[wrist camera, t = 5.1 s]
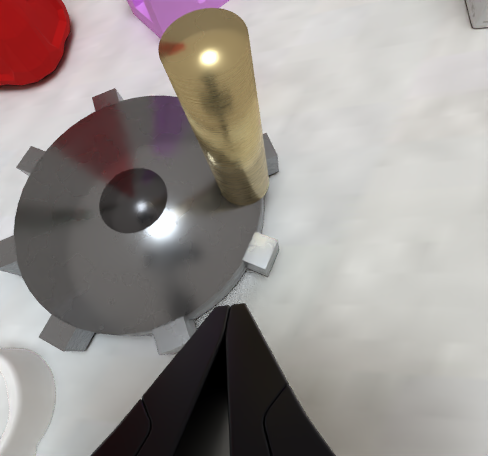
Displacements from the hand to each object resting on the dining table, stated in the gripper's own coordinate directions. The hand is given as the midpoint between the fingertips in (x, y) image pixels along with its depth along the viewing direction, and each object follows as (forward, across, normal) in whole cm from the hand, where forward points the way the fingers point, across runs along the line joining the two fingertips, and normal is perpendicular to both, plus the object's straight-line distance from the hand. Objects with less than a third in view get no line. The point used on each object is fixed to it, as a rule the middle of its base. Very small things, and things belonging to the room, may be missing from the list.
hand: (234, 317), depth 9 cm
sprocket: (+14, +7, +2) cm, 15 cm away
